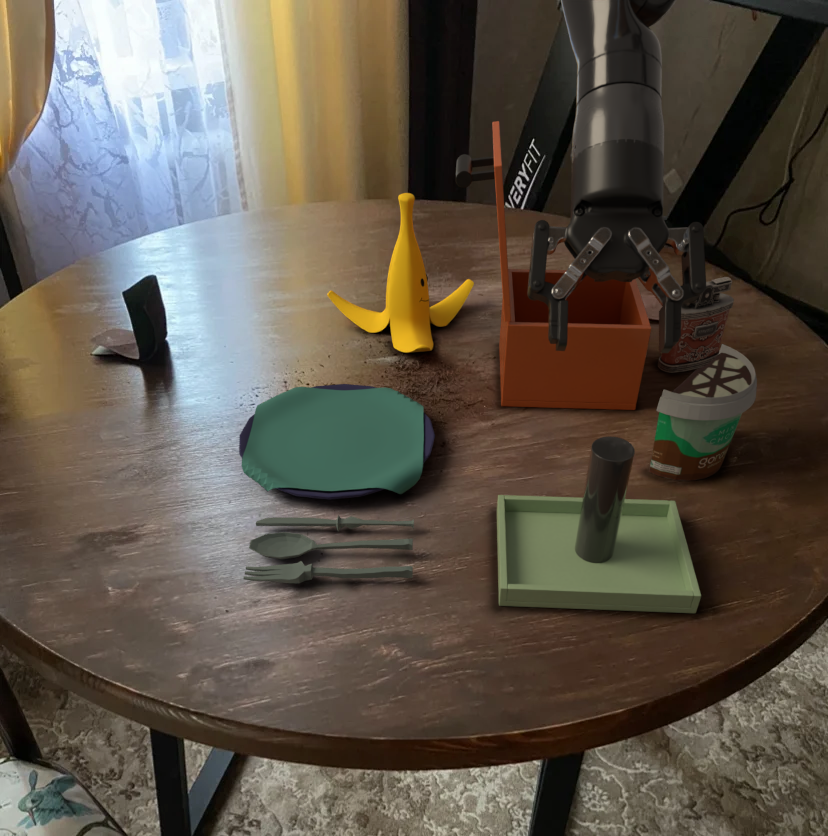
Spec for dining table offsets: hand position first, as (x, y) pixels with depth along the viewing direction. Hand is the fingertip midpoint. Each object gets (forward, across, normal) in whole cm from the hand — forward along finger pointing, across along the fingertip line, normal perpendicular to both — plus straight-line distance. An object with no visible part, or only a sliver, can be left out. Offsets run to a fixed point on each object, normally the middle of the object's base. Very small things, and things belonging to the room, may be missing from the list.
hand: (613, 349), depth 69 cm
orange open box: (-5, -1, +28) cm, 28 cm away
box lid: (-17, -9, +15) cm, 24 cm away
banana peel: (-13, -22, +35) cm, 43 cm away
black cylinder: (+16, 0, +6) cm, 17 cm away
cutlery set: (+10, -25, +13) cm, 30 cm away
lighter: (-8, +14, +31) cm, 35 cm away
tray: (+17, -1, +6) cm, 18 cm away
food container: (+7, +12, +16) cm, 21 cm away
